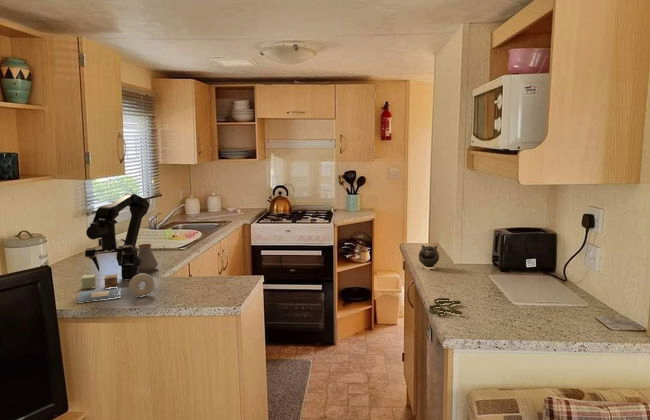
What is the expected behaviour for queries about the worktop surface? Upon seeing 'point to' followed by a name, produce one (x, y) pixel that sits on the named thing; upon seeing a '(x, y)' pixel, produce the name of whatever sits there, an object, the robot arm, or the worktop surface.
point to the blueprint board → (98, 294)
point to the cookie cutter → (443, 308)
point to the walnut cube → (110, 281)
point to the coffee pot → (145, 258)
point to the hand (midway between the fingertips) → (110, 269)
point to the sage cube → (88, 281)
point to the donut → (139, 278)
